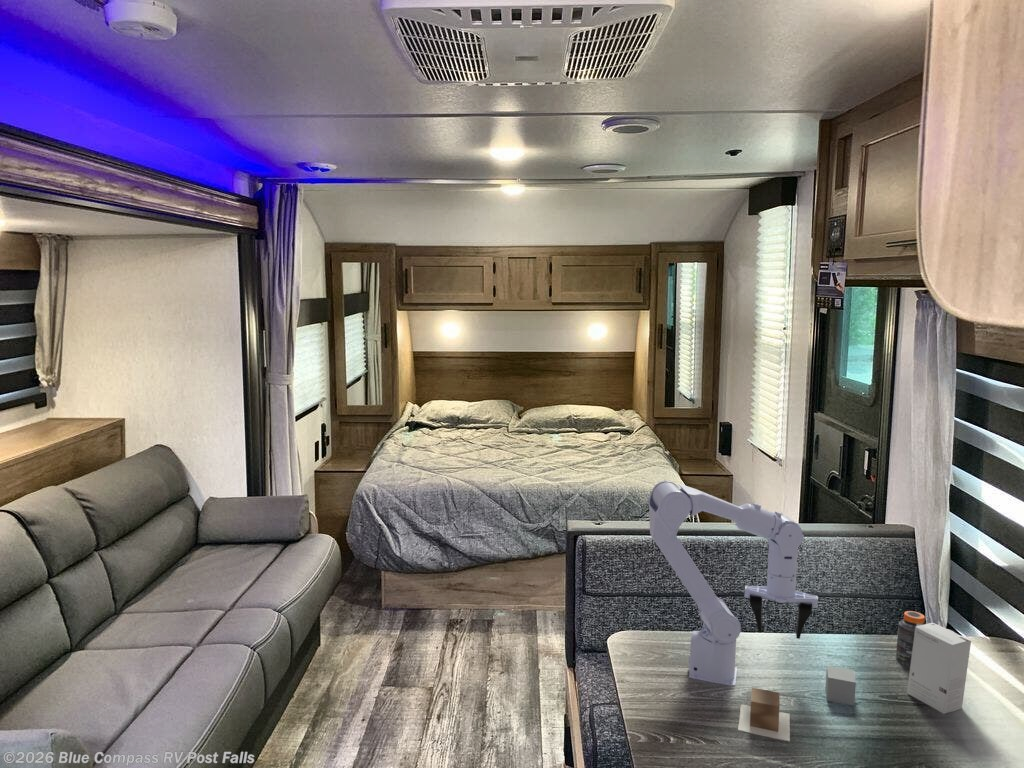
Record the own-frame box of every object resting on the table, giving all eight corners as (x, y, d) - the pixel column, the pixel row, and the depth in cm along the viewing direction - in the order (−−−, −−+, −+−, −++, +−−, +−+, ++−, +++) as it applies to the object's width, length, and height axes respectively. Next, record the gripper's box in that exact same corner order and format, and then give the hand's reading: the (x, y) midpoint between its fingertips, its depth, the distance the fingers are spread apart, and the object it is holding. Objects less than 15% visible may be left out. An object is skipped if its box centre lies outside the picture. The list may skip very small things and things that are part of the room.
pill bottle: (930, 670, 151) (934, 621, 150) (901, 667, 153) (904, 618, 151) (920, 657, 157) (923, 609, 156) (892, 654, 158) (895, 607, 157)
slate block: (826, 700, 139) (828, 677, 138) (825, 688, 144) (826, 665, 143) (854, 706, 137) (855, 682, 136) (852, 693, 142) (853, 670, 141)
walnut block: (749, 726, 130) (750, 701, 130) (750, 711, 135) (751, 687, 134) (778, 731, 128) (779, 706, 128) (778, 717, 133) (779, 692, 132)
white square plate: (737, 732, 129) (738, 729, 129) (740, 706, 137) (740, 704, 137) (789, 743, 126) (789, 740, 126) (789, 716, 134) (789, 714, 134)
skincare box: (906, 694, 142) (911, 625, 140) (925, 688, 144) (930, 620, 143) (946, 716, 134) (951, 644, 133) (966, 709, 137) (972, 638, 135)
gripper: (744, 574, 146) (742, 635, 147) (819, 584, 140) (816, 647, 142) (746, 562, 152) (744, 621, 154) (818, 572, 147) (814, 633, 148)
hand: (778, 633), depth 148 cm, fingers open, 7 cm apart
